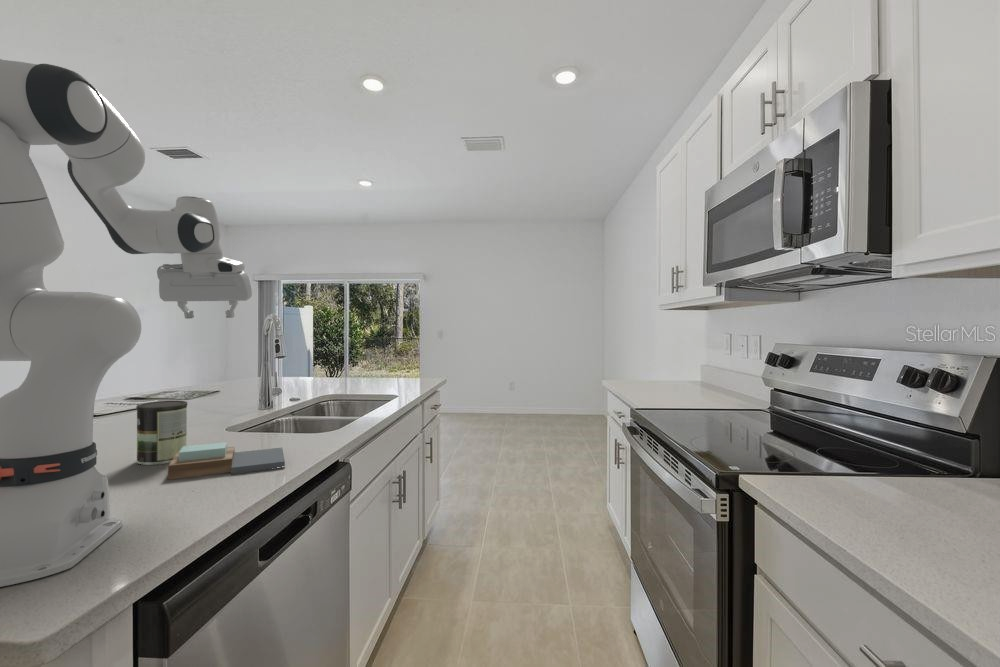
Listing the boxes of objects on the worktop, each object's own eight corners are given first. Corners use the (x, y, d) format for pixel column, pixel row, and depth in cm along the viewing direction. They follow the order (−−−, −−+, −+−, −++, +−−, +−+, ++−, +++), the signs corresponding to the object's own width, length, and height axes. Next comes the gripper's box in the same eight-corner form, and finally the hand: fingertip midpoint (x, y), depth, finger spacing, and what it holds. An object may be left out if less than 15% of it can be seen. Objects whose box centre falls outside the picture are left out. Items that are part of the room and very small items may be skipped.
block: (225, 456, 106) (225, 447, 106) (178, 461, 102) (178, 452, 101) (226, 450, 111) (226, 442, 111) (182, 454, 107) (182, 446, 107)
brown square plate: (231, 471, 104) (231, 458, 104) (168, 479, 98) (168, 465, 98) (234, 458, 114) (234, 446, 114) (177, 464, 109) (177, 452, 109)
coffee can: (130, 467, 106) (130, 408, 106) (143, 456, 116) (143, 401, 115) (182, 462, 111) (182, 405, 110) (191, 451, 120) (191, 399, 120)
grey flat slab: (284, 467, 107) (284, 461, 107) (231, 474, 102) (231, 467, 102) (282, 453, 120) (282, 447, 120) (234, 458, 114) (234, 452, 114)
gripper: (149, 265, 108) (158, 321, 111) (243, 265, 112) (249, 319, 116) (161, 262, 113) (169, 316, 117) (250, 263, 118) (256, 314, 122)
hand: (210, 317), depth 116 cm, fingers open, 8 cm apart
